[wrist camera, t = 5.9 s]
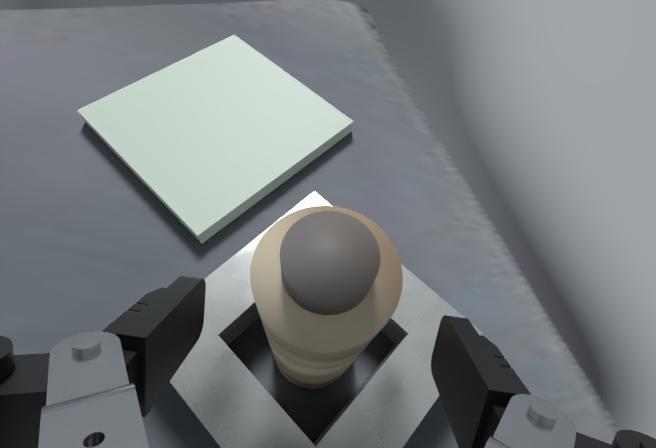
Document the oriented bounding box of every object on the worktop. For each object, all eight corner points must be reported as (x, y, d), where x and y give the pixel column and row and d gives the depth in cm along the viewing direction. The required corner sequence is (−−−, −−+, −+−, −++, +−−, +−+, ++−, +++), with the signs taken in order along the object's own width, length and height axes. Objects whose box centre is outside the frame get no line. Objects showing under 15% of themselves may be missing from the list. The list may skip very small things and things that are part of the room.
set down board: (201, 244, 20) (197, 235, 19) (84, 121, 24) (76, 110, 23) (351, 131, 25) (353, 121, 25) (236, 46, 29) (234, 34, 28)
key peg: (313, 408, 16) (334, 383, 7) (256, 345, 18) (208, 252, 8) (368, 344, 18) (446, 254, 9) (313, 291, 19) (327, 160, 10)
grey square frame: (313, 548, 14) (316, 571, 12) (154, 346, 17) (134, 335, 15) (461, 343, 18) (483, 333, 16) (312, 214, 22) (314, 191, 20)
